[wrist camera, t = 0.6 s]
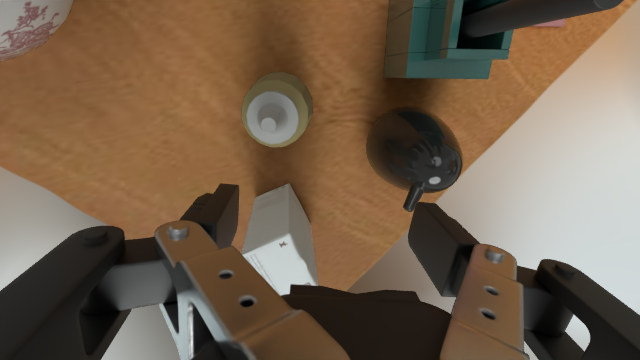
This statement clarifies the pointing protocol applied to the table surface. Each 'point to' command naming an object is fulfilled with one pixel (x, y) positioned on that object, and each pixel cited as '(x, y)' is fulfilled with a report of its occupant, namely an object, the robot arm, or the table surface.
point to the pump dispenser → (414, 152)
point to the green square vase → (439, 41)
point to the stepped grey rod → (526, 15)
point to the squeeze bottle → (277, 109)
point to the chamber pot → (29, 24)
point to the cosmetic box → (280, 241)
